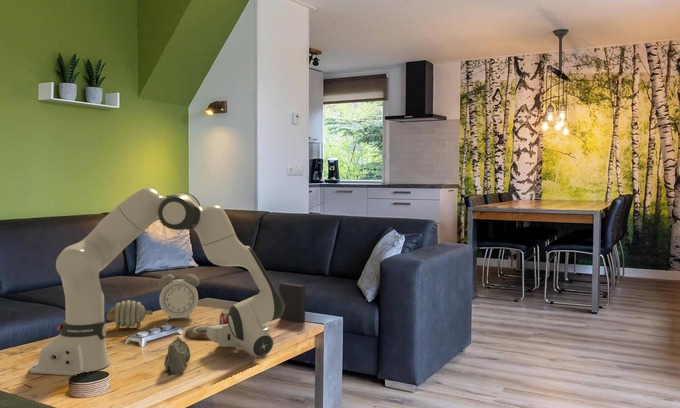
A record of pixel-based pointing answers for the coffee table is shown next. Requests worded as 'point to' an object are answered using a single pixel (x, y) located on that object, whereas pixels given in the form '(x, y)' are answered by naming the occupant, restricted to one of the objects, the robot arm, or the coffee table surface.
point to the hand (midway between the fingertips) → (229, 324)
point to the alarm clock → (178, 294)
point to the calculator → (293, 301)
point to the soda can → (224, 317)
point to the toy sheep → (127, 314)
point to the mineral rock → (177, 357)
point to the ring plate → (197, 332)
